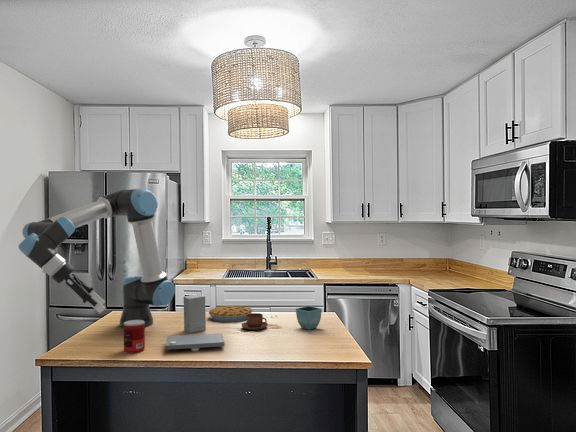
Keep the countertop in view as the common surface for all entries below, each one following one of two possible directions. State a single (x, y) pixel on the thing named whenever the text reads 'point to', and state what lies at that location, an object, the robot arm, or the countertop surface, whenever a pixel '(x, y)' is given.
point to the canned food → (134, 336)
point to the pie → (230, 313)
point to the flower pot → (308, 317)
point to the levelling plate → (194, 341)
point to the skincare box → (194, 313)
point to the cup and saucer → (255, 322)
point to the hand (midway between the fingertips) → (103, 307)
